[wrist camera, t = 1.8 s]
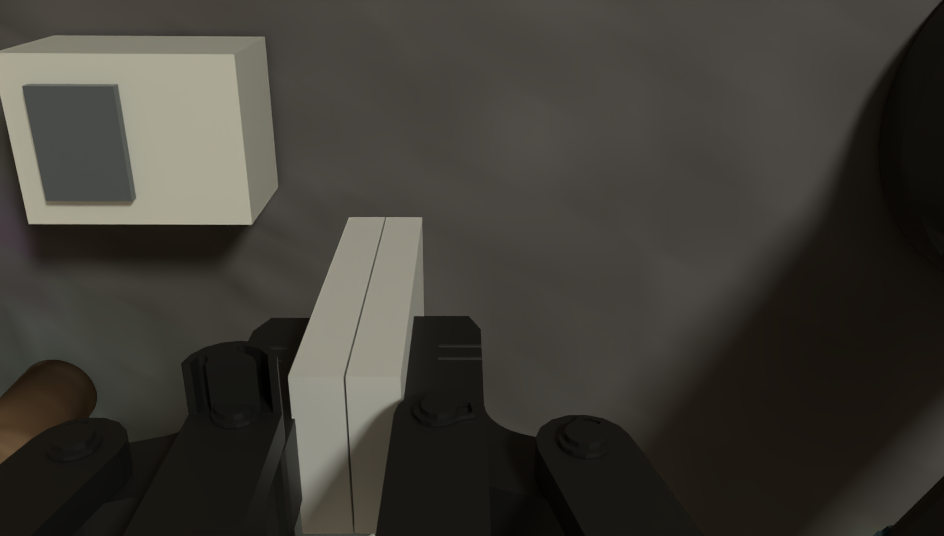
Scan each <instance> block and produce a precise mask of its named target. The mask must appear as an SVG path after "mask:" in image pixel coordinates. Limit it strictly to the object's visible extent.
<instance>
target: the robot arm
mask: <svg viewBox="0 0 944 536" xmlns="http://www.w3.org/2000/svg"><path fill="white" fill-rule="evenodd" d="M879 161H880V173H881V180H882V185H883V190H884V194H885V197H886V200H887V203H888V206H889V209H890V211H891V213H892V215H893V218H894V219H895V221H896V223H897V225H898V227H899V228H900V230H901V231H902V233H903V234H904V236H905V237H906V238H907V239H908V241H909V242H910V243H911V244H912V245H913V246H914V247H915V248H916V249H917V250H918V251H919V252H920V253H921V254H922V255H923V256H924V257H925V258H927V259H928V260H929V261H930V262H932V263H933V264H934V265H936V266H937V267H939V268H940V269H941V270H943V271H944V3H943V4H942V5H941V6H940V7H939V8H938V10H937V11H936V12H935V13H934V15H933V16H932V17H931V18H930V19H929V21H928V22H927V24H926V25H925V26H924V28H923V29H922V30H921V32H920V33H919V35H918V36H917V38H916V40H915V41H914V43H913V44H912V46H911V48H910V49H909V51H908V53H907V55H906V57H905V58H904V60H903V62H902V64H901V66H900V69H899V71H898V73H897V75H896V78H895V80H894V83H893V85H892V88H891V91H890V94H889V97H888V100H887V103H886V107H885V111H884V115H883V121H882V126H881V134H880V144H879ZM181 366H182V372H183V379H184V385H185V392H186V398H187V405H188V412H189V415H188V417H187V419H186V421H185V422H184V424H183V426H182V428H181V430H180V432H177V433H175V434H171V435H167V436H163V437H158V438H153V439H148V440H143V441H137V442H132V443H129V441H128V435H127V430H126V429H125V428H124V427H123V426H122V425H121V424H120V423H119V422H116V421H113V420H110V419H107V418H79V419H78V420H76V419H74V420H69V421H66V422H64V423H61V424H59V425H56V426H53V427H51V428H48V429H46V430H45V431H43V432H41V433H40V434H38V435H37V436H35V437H33V438H32V439H31V440H29V441H28V442H27V443H26V444H24V445H23V446H22V447H21V448H19V449H18V450H17V451H16V452H14V453H13V454H12V455H11V456H9V457H8V458H7V459H6V460H4V461H3V462H2V463H1V464H0V536H295V530H294V528H295V525H296V521H297V518H298V514H299V510H301V520H302V531H303V534H351V533H353V531H354V525H355V533H376V536H703V534H702V533H701V531H700V530H699V529H698V527H697V526H696V525H695V523H694V522H693V521H692V519H691V518H690V516H689V515H688V514H687V512H686V511H685V510H684V508H683V507H682V506H681V504H680V503H679V502H678V500H677V499H676V497H675V496H674V495H673V493H672V492H671V491H670V489H669V488H668V487H667V485H666V484H665V482H664V481H663V480H662V478H661V477H660V476H659V474H658V473H657V472H656V470H655V469H654V468H653V466H652V465H651V463H650V462H649V461H648V459H647V458H646V457H645V455H644V454H643V453H642V451H641V450H640V448H639V447H638V446H637V444H636V443H635V442H634V440H633V439H632V438H631V436H630V435H629V434H628V433H627V432H626V431H624V430H623V429H622V428H621V427H620V426H619V425H616V424H614V423H612V422H610V421H608V420H605V419H603V418H598V417H594V416H588V415H567V416H564V417H560V418H556V419H553V420H551V421H549V422H548V423H546V424H545V425H543V426H542V427H541V428H540V430H539V432H538V434H537V436H536V437H533V436H529V435H524V434H520V433H517V432H513V431H510V430H508V429H506V428H504V427H502V426H500V425H499V424H497V423H496V422H495V421H493V420H492V419H491V418H490V417H489V415H488V414H487V412H486V410H485V406H484V396H483V373H482V351H481V329H480V328H479V327H478V326H477V325H476V324H475V323H474V322H473V321H472V319H471V318H470V317H469V316H424V296H423V240H422V217H386V221H385V217H349V219H348V221H347V224H346V227H345V229H344V232H343V234H342V237H341V240H340V242H339V245H338V247H337V250H336V253H335V255H334V258H333V261H332V263H331V266H330V268H329V271H328V274H327V276H326V279H325V281H324V284H323V287H322V289H321V292H320V295H319V297H318V300H317V302H316V305H315V308H314V310H313V313H312V315H311V318H271V319H269V320H268V321H267V322H265V323H264V324H262V325H261V326H260V327H258V328H257V329H256V330H254V331H253V333H252V335H251V337H250V339H249V341H248V342H247V341H235V342H224V343H219V344H215V345H212V346H208V347H205V348H203V349H201V350H199V351H197V352H195V353H193V354H191V355H190V356H189V357H188V358H186V359H185V360H184V361H183V362H182V363H181ZM873 536H944V476H943V477H942V478H941V479H940V480H939V481H938V482H937V483H936V484H935V485H934V486H933V487H932V488H931V489H930V490H929V491H928V492H927V493H926V494H925V495H924V496H923V497H922V498H921V499H920V500H919V501H918V502H917V503H916V504H915V505H914V506H913V507H912V508H911V509H910V510H909V511H908V512H907V513H906V514H905V515H904V516H903V517H902V518H901V519H900V520H899V521H898V522H897V523H896V524H895V525H891V526H887V527H886V528H885V529H883V530H881V531H877V532H876V533H875V534H874V535H873Z"/></svg>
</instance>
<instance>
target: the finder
mask: <svg viewBox="0 0 944 536" xmlns="http://www.w3.org/2000/svg"><path fill="white" fill-rule="evenodd" d="M0 96H1V100H2V105H3V109H4V114H5V118H6V123H7V128H8V132H9V137H10V141H11V146H12V150H13V155H14V159H15V164H16V169H17V173H18V178H19V182H20V187H21V191H22V196H23V200H24V205H25V209H26V214H27V219H28V223H29V224H178V225H252V224H253V223H254V221H255V220H256V218H257V217H258V216H259V214H260V213H261V211H262V210H263V208H264V207H265V206H266V204H267V203H268V201H269V200H270V198H271V197H272V195H273V194H274V193H275V191H276V190H277V188H278V179H277V168H276V156H275V145H274V134H273V123H272V112H271V101H270V90H269V79H268V68H267V57H266V46H265V37H229V36H59V35H54V36H51V37H47V38H43V39H40V40H36V41H33V42H29V43H25V44H22V45H18V46H15V47H11V48H7V49H4V50H0Z"/></svg>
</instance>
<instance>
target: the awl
mask: <svg viewBox="0 0 944 536" xmlns="http://www.w3.org/2000/svg"><path fill="white" fill-rule="evenodd" d="M96 402H97V392H96V389H95V386H94V384H93V382H92V380H91V379H90V378H89V376H88V375H87V374H86V373H85V372H83V371H82V370H81V369H80V368H78V367H76V366H75V365H73V364H70V363H68V362H64V361H60V360H45V361H41V362H38V363H36V364H34V365H32V366H31V367H30V368H29V369H28V370H27V371H26V372H25V373H24V374H23V375H22V376H21V377H20V378H19V379H18V380H17V381H16V382H15V383H14V384H13V385H12V386H11V387H10V388H9V389H8V390H7V391H6V392H5V393H4V394H3V395H2V396H1V397H0V464H1V463H2V462H3V461H4V460H6V459H7V458H8V457H9V456H11V455H12V454H13V453H14V452H16V451H17V450H18V449H19V448H21V447H22V446H23V445H24V444H26V443H27V442H28V441H29V440H31V439H32V438H33V437H35V436H37V435H38V434H40V433H41V432H43V431H45V430H46V429H48V428H51V427H53V426H56V425H59V424H61V423H64V422H66V421H69V420H74V419H76V420H78V419H79V418H88V417H89V415H90V414H91V413H92V411H93V410H94V408H95V406H96Z"/></svg>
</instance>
